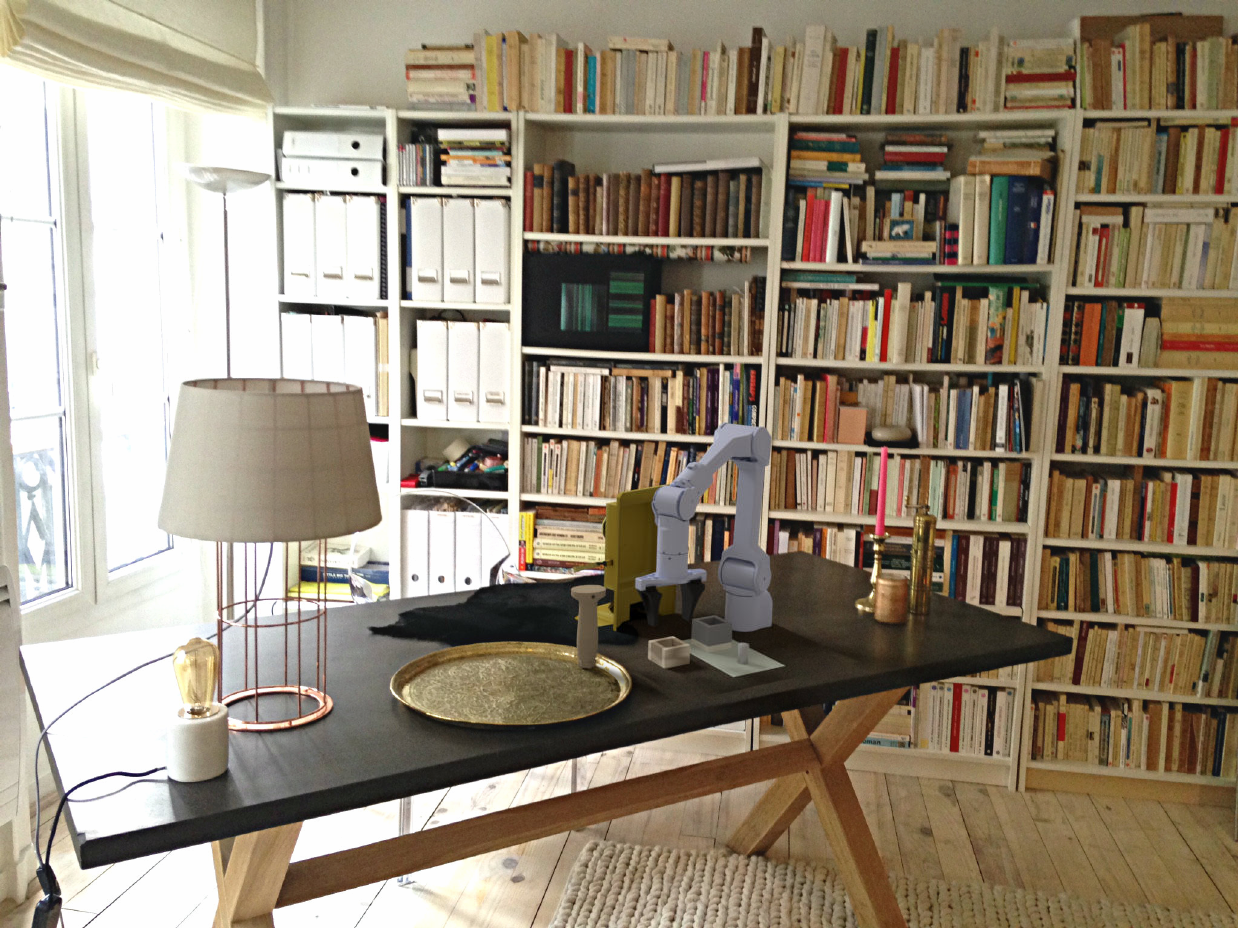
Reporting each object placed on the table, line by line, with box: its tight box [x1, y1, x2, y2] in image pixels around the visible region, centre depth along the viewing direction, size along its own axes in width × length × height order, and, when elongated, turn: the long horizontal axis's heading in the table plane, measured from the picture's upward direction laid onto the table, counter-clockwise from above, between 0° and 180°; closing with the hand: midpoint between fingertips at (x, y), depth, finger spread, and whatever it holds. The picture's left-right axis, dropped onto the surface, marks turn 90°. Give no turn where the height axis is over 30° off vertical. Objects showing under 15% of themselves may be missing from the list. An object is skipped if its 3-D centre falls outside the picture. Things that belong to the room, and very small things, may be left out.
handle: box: [570, 584, 607, 669], centre depth 188 cm, size 5×6×15 cm
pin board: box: [682, 638, 786, 678], centre depth 193 cm, size 12×20×5 cm, turn 31°
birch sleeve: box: [647, 636, 691, 669], centre depth 189 cm, size 6×6×5 cm
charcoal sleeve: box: [690, 614, 733, 653], centre depth 197 cm, size 6×6×5 cm
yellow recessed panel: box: [572, 483, 692, 632], centre depth 214 cm, size 31×14×30 cm, turn 135°
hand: (669, 622), depth 188 cm, fingers open, 7 cm apart
